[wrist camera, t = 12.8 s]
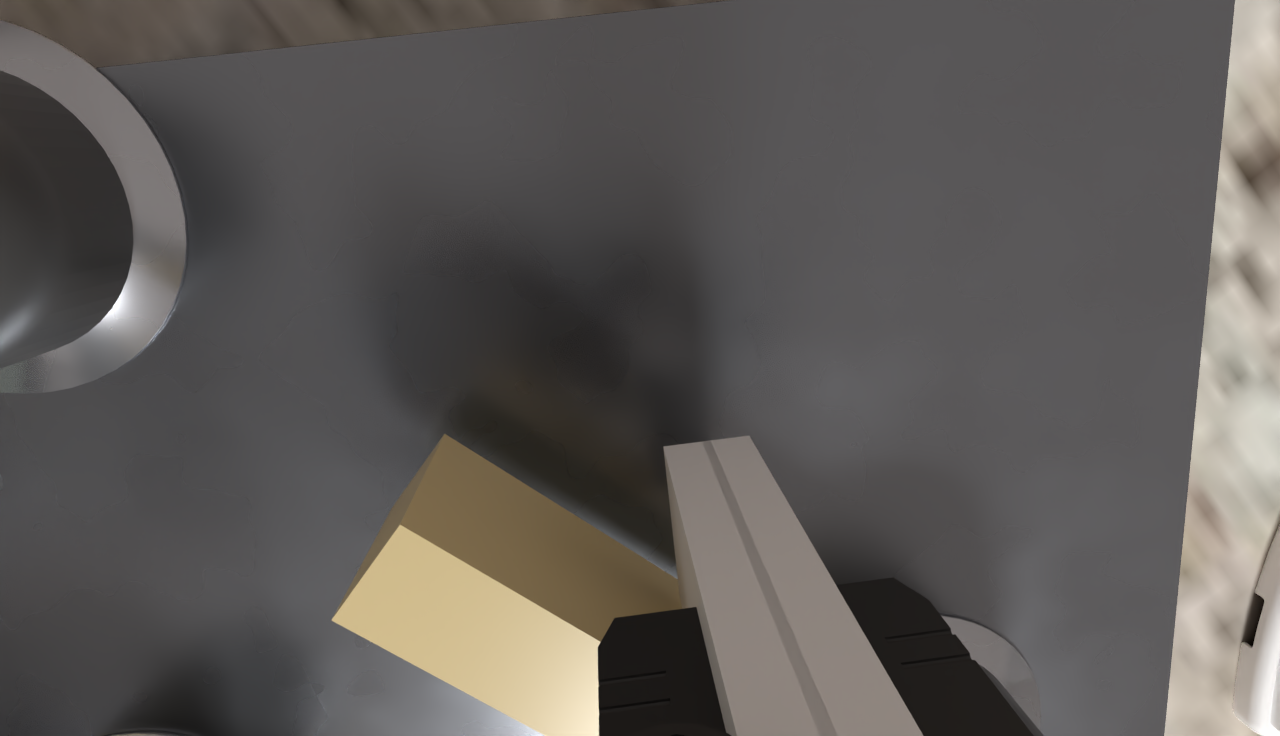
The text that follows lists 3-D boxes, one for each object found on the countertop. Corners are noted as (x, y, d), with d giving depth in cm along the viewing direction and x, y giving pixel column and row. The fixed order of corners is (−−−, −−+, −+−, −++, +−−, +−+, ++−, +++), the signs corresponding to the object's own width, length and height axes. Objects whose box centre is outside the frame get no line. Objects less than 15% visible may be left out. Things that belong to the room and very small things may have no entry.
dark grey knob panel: (-15, 915, 18) (-90, 1010, 16) (-401, 78, 13) (-583, 63, 11) (1099, 737, 19) (1160, 804, 17) (1155, -83, 14) (1251, -124, 12)
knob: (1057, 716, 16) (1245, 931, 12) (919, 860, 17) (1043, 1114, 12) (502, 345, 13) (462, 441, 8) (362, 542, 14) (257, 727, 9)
